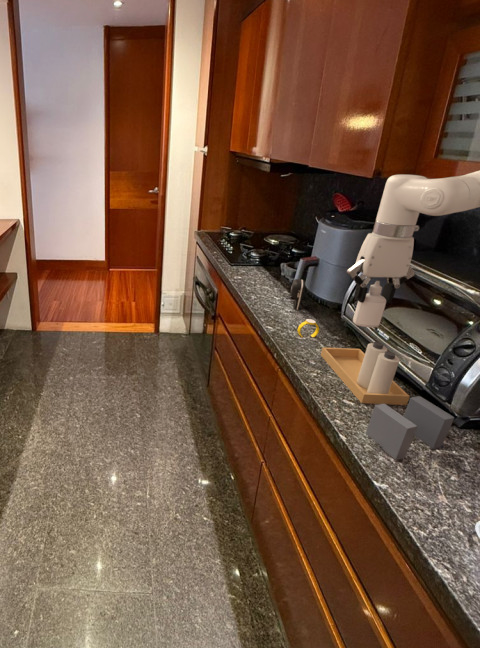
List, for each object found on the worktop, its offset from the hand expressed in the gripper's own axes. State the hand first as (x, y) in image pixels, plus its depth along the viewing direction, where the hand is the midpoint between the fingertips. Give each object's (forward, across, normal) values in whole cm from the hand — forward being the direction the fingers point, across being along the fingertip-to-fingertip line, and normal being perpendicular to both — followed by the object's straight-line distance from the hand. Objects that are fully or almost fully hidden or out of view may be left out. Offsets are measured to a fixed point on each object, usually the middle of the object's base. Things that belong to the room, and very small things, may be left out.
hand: (372, 300), depth 97 cm
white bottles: (+21, 0, +9) cm, 23 cm away
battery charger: (+22, +1, -38) cm, 44 cm away
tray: (+21, 0, +4) cm, 22 cm away
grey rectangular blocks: (+21, +3, +26) cm, 34 cm away
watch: (+22, +4, -18) cm, 28 cm away
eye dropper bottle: (+7, 0, 0) cm, 7 cm away
